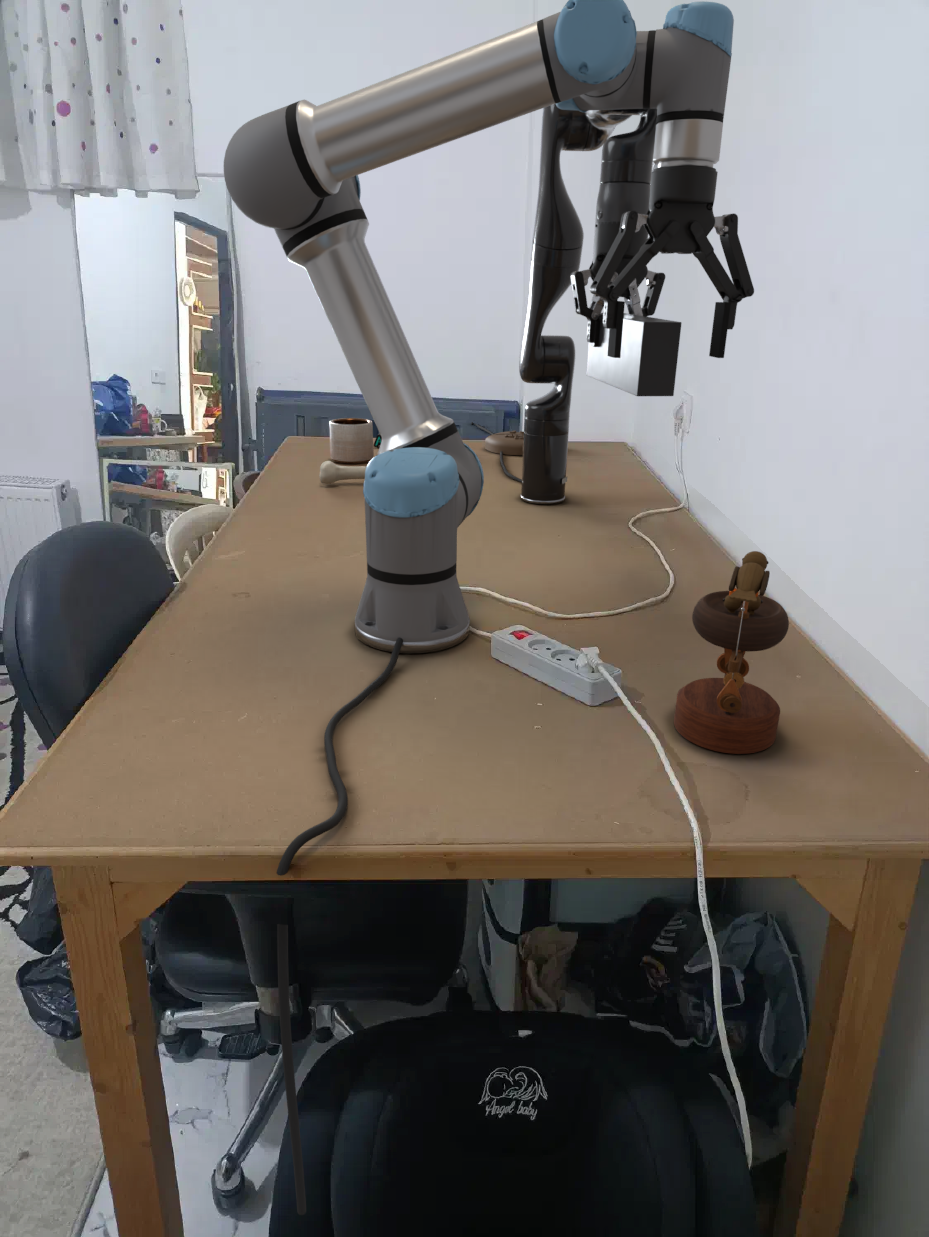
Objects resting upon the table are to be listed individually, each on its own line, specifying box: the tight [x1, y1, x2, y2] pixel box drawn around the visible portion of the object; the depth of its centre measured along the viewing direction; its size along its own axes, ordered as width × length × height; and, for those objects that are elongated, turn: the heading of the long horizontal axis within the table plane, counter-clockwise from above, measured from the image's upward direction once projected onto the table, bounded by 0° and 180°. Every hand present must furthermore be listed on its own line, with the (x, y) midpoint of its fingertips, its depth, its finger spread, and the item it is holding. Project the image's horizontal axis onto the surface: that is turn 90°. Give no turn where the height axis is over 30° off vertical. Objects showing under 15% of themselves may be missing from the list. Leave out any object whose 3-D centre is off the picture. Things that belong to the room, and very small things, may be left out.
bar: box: [586, 312, 682, 397], centre depth 119 cm, size 23×5×9 cm, turn 9°
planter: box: [328, 417, 375, 464], centre depth 212 cm, size 11×11×10 cm
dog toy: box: [318, 460, 367, 485], centre depth 190 cm, size 20×6×5 cm, turn 99°
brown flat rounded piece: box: [484, 430, 524, 456], centre depth 224 cm, size 21×28×4 cm
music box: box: [673, 550, 790, 755], centre depth 87 cm, size 15×11×20 cm
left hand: (665, 357), depth 106 cm, fingers open, 13 cm apart
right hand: (612, 346), depth 126 cm, fingers closed on bar, 5 cm apart
